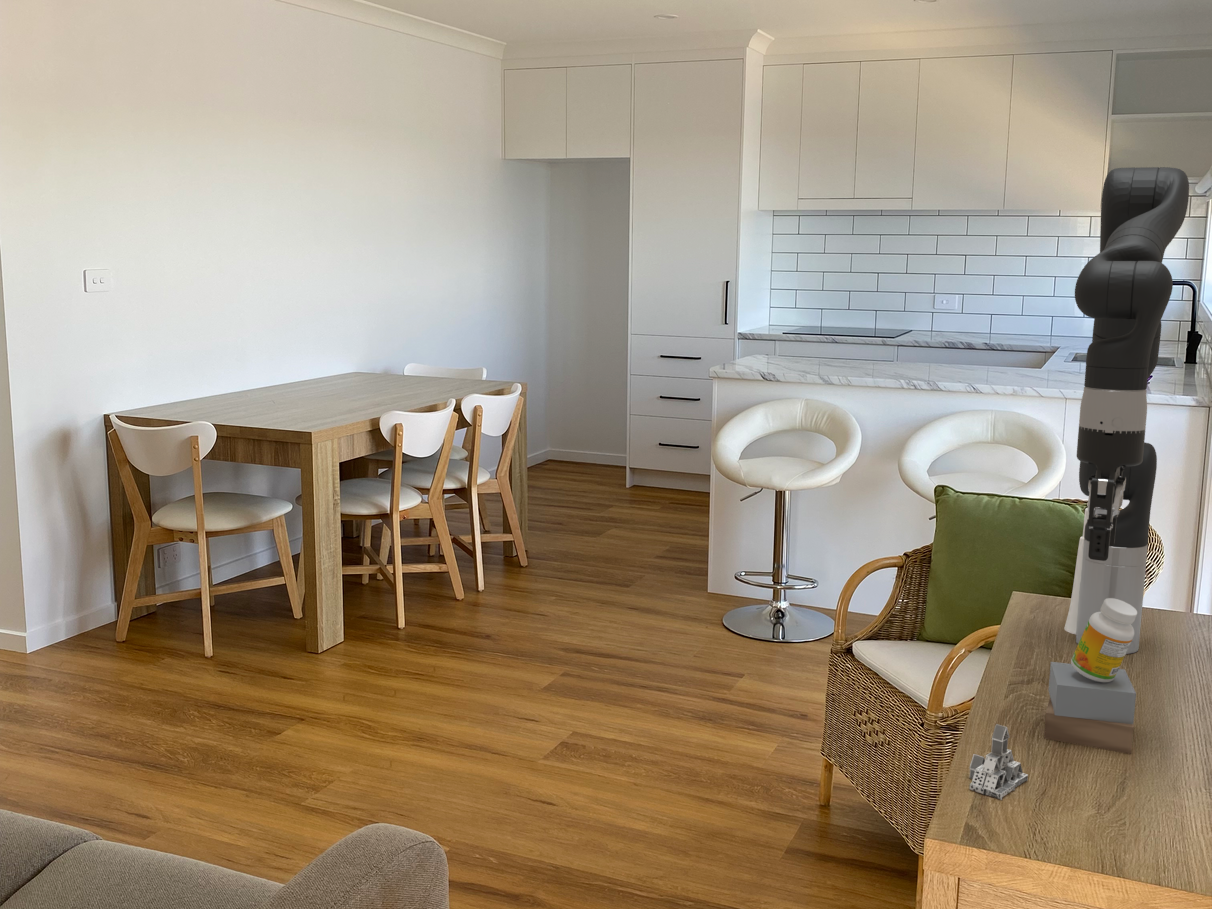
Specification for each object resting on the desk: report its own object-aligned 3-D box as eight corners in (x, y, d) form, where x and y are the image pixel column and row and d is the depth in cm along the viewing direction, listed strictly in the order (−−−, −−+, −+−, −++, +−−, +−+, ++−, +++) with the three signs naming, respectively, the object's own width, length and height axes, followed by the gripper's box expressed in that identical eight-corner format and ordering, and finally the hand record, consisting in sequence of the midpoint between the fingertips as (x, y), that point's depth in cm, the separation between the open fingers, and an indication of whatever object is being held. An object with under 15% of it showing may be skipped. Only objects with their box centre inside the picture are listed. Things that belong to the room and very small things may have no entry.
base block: (1050, 715, 148) (1052, 687, 147) (1132, 729, 143) (1134, 700, 143) (1043, 742, 139) (1045, 712, 138) (1130, 758, 135) (1133, 727, 134)
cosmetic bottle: (1096, 627, 187) (1107, 500, 183) (1108, 638, 181) (1120, 507, 177) (1059, 625, 187) (1069, 499, 184) (1070, 636, 181) (1081, 506, 178)
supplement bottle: (1065, 654, 142) (1093, 590, 139) (1106, 665, 142) (1135, 601, 138) (1076, 677, 137) (1105, 611, 134) (1118, 688, 137) (1149, 622, 133)
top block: (1048, 690, 146) (1050, 661, 145) (1122, 698, 143) (1124, 669, 143) (1054, 715, 138) (1057, 684, 137) (1133, 724, 135) (1136, 693, 134)
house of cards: (965, 758, 134) (969, 698, 133) (1035, 781, 128) (1040, 718, 127) (928, 780, 127) (932, 717, 126) (1000, 805, 121) (1004, 739, 120)
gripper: (1085, 416, 144) (1075, 537, 146) (1072, 428, 131) (1062, 560, 134) (1149, 420, 140) (1138, 544, 142) (1141, 433, 128) (1130, 568, 130)
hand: (1101, 552), depth 138 cm, fingers open, 8 cm apart
